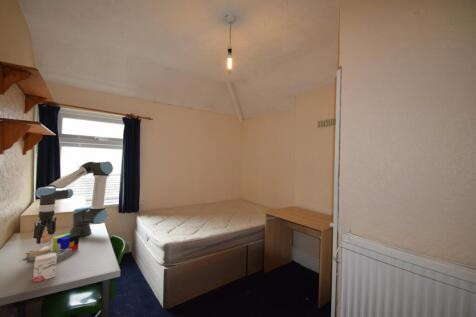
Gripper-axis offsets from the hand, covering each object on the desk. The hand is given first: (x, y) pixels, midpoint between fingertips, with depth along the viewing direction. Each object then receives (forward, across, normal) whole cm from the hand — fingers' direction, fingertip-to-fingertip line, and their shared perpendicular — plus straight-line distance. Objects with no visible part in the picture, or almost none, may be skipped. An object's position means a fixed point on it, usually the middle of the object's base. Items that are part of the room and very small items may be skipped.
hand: (44, 246), depth 134 cm
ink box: (+7, +23, +22) cm, 33 cm away
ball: (-5, 0, 0) cm, 5 cm away
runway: (+8, 0, +5) cm, 9 cm away
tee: (+7, 0, -8) cm, 11 cm away
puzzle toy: (+7, -11, +5) cm, 14 cm away
